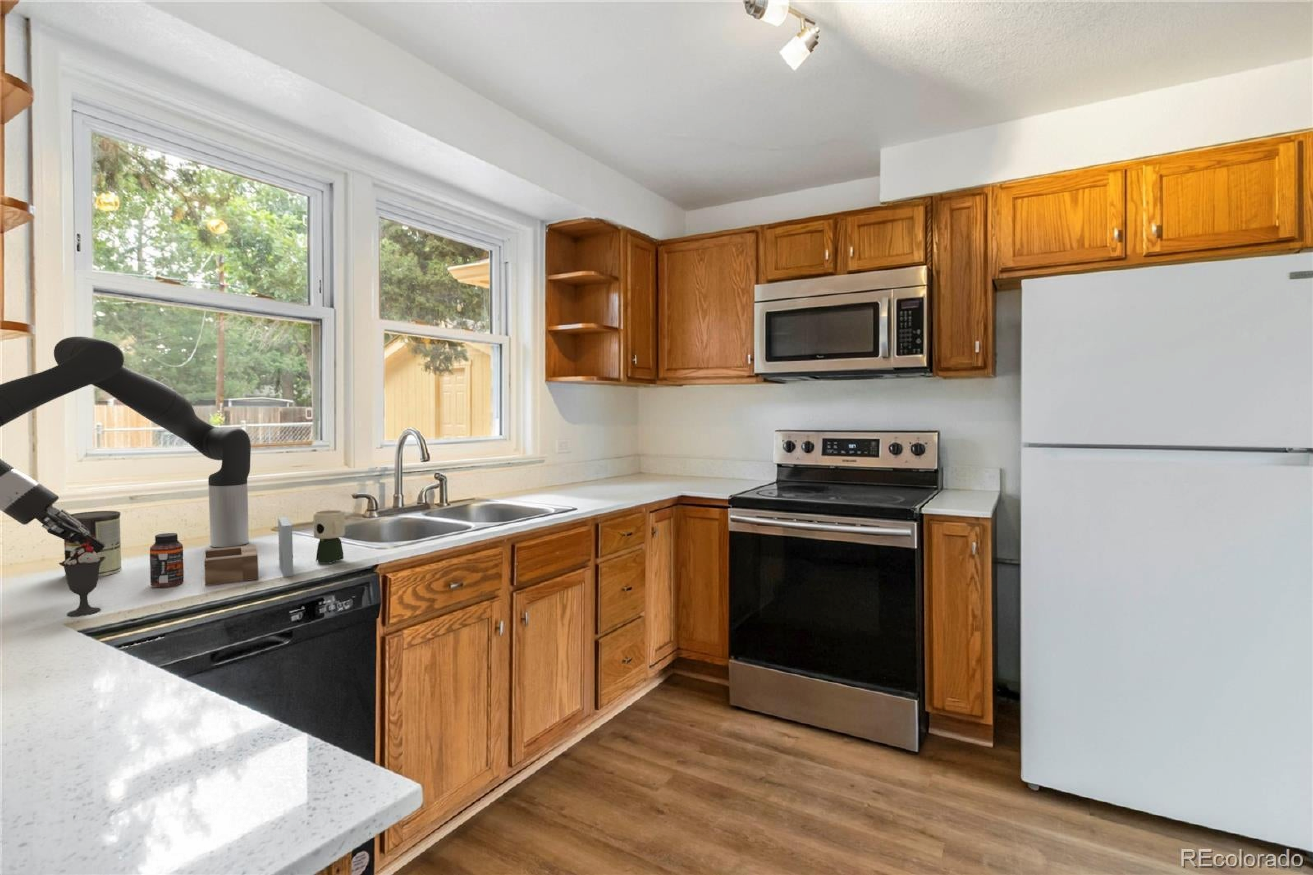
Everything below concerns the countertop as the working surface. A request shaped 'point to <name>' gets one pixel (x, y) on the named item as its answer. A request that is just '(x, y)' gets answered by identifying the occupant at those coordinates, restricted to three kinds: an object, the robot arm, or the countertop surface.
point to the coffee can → (102, 538)
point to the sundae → (82, 575)
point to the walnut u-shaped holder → (231, 564)
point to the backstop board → (285, 546)
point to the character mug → (329, 534)
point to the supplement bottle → (166, 561)
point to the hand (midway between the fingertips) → (101, 549)
